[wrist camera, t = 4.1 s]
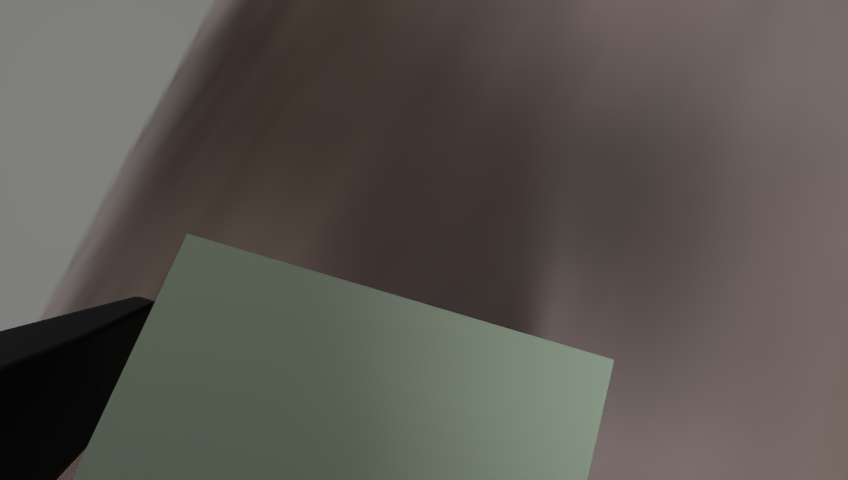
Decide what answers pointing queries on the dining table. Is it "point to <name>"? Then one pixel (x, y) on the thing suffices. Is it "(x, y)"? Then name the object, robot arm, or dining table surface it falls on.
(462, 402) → the sage green block
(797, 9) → the dining table surface
